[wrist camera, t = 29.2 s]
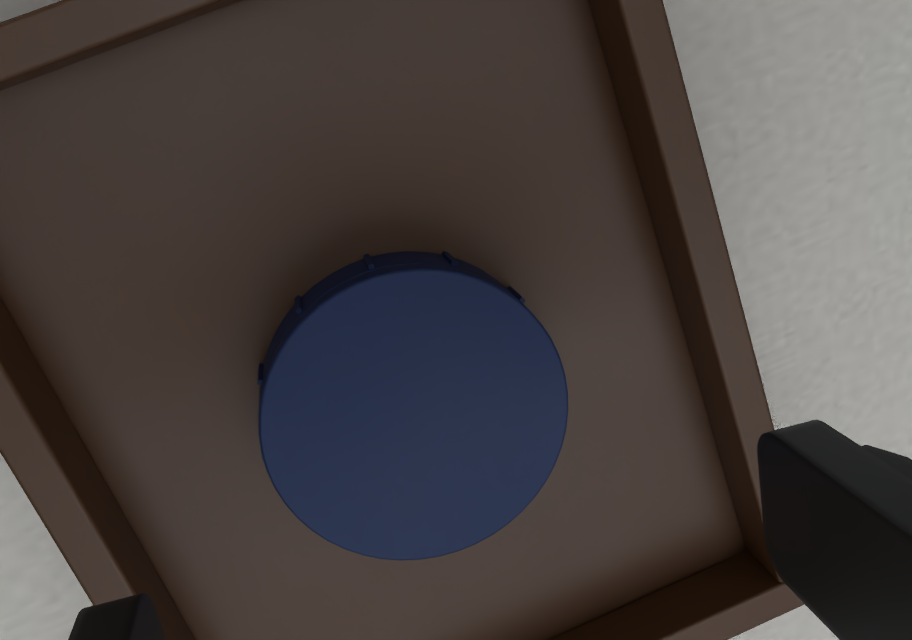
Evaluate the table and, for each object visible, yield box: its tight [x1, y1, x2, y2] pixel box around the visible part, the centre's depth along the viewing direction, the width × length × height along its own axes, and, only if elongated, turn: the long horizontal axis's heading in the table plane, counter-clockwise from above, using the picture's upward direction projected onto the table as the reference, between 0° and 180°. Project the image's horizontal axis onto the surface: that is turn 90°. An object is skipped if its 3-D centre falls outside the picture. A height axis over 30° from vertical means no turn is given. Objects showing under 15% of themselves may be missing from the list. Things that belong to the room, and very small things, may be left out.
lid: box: [257, 251, 568, 561], centre depth 17 cm, size 6×6×2 cm
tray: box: [0, 0, 804, 640], centre depth 17 cm, size 17×14×2 cm
